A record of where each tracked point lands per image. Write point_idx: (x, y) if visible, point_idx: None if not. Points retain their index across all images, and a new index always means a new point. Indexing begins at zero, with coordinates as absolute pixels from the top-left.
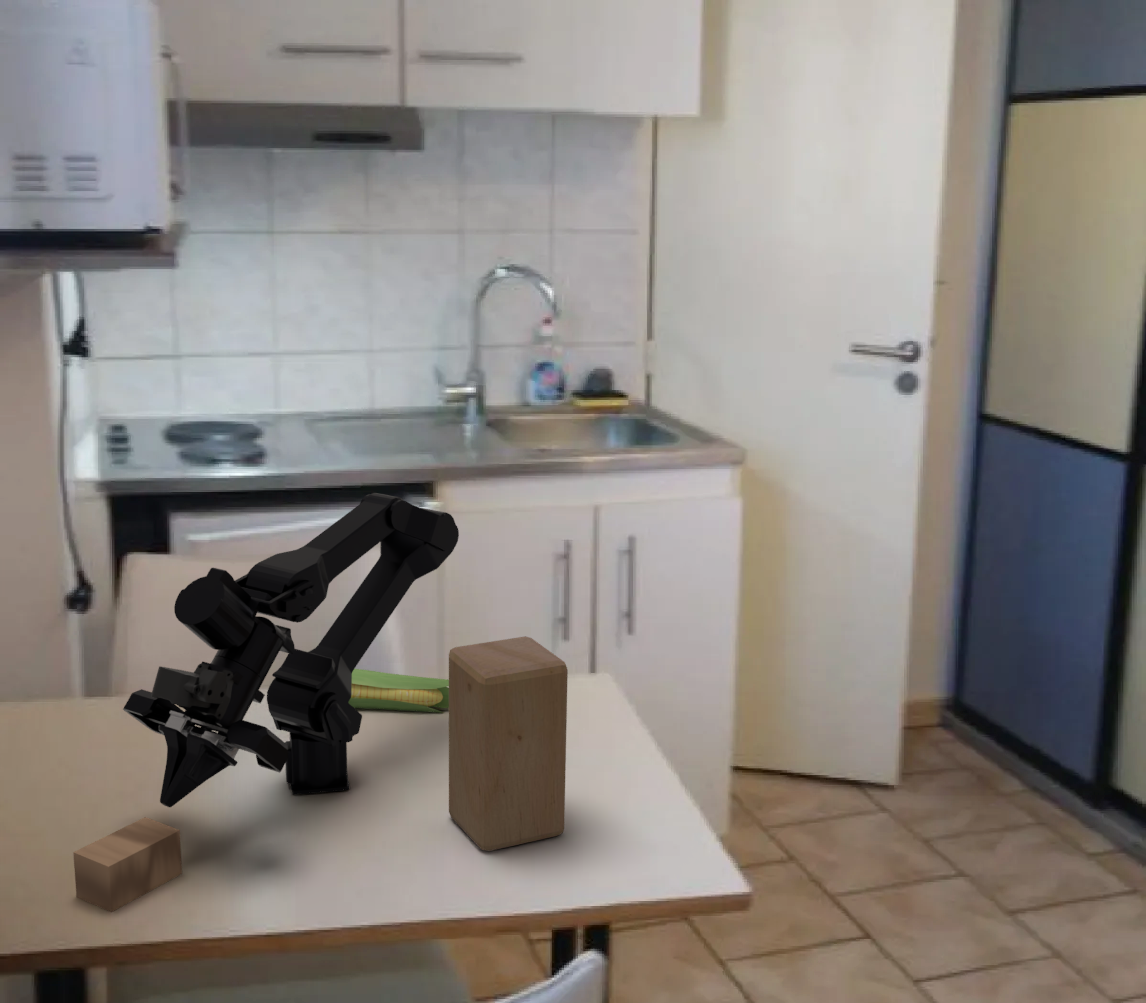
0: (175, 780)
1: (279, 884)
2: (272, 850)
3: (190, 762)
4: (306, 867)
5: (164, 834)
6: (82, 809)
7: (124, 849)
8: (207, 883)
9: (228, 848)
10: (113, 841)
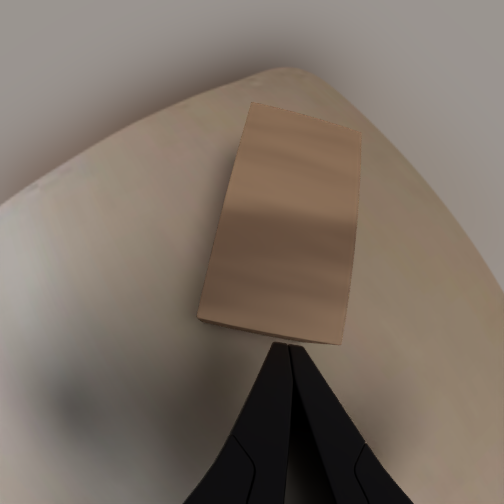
0: (273, 408)
1: (21, 343)
2: (96, 458)
3: (211, 493)
4: (15, 410)
5: (222, 276)
6: (483, 414)
7: (271, 169)
8: (131, 305)
9: (177, 445)
10: (323, 194)
